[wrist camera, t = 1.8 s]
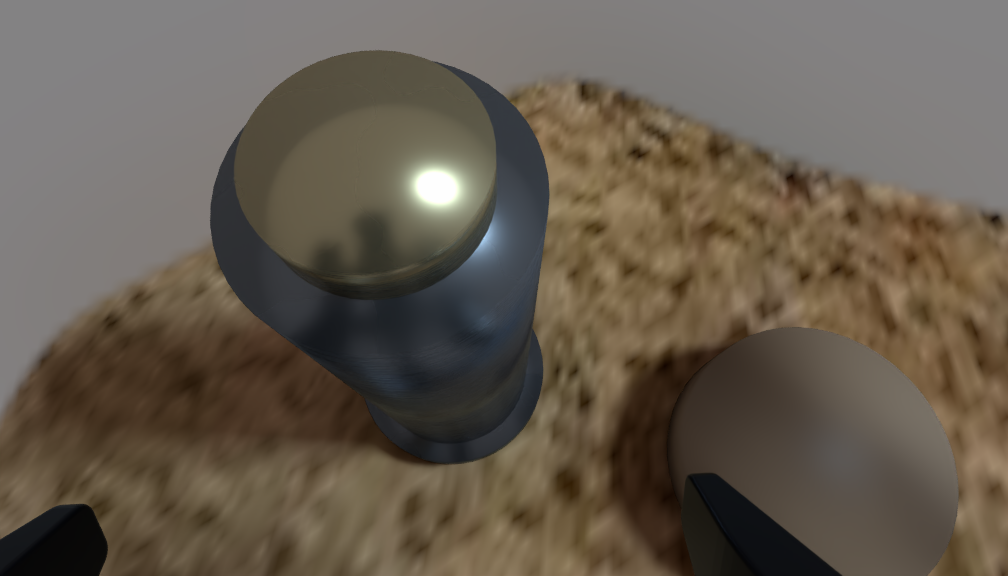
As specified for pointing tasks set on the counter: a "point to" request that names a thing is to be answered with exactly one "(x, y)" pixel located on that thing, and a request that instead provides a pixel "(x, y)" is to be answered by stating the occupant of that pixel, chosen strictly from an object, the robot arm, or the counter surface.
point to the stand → (823, 448)
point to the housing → (395, 243)
